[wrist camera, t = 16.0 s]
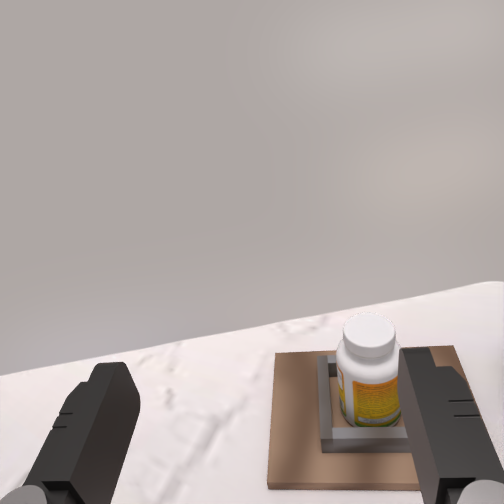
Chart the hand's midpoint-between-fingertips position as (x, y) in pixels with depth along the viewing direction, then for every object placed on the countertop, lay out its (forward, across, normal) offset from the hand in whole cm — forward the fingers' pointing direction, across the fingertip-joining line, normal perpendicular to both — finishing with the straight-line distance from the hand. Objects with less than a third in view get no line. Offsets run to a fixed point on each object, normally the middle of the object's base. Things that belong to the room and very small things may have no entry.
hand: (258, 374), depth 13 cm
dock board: (+17, -6, +26) cm, 31 cm away
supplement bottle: (+17, -6, +25) cm, 30 cm away
